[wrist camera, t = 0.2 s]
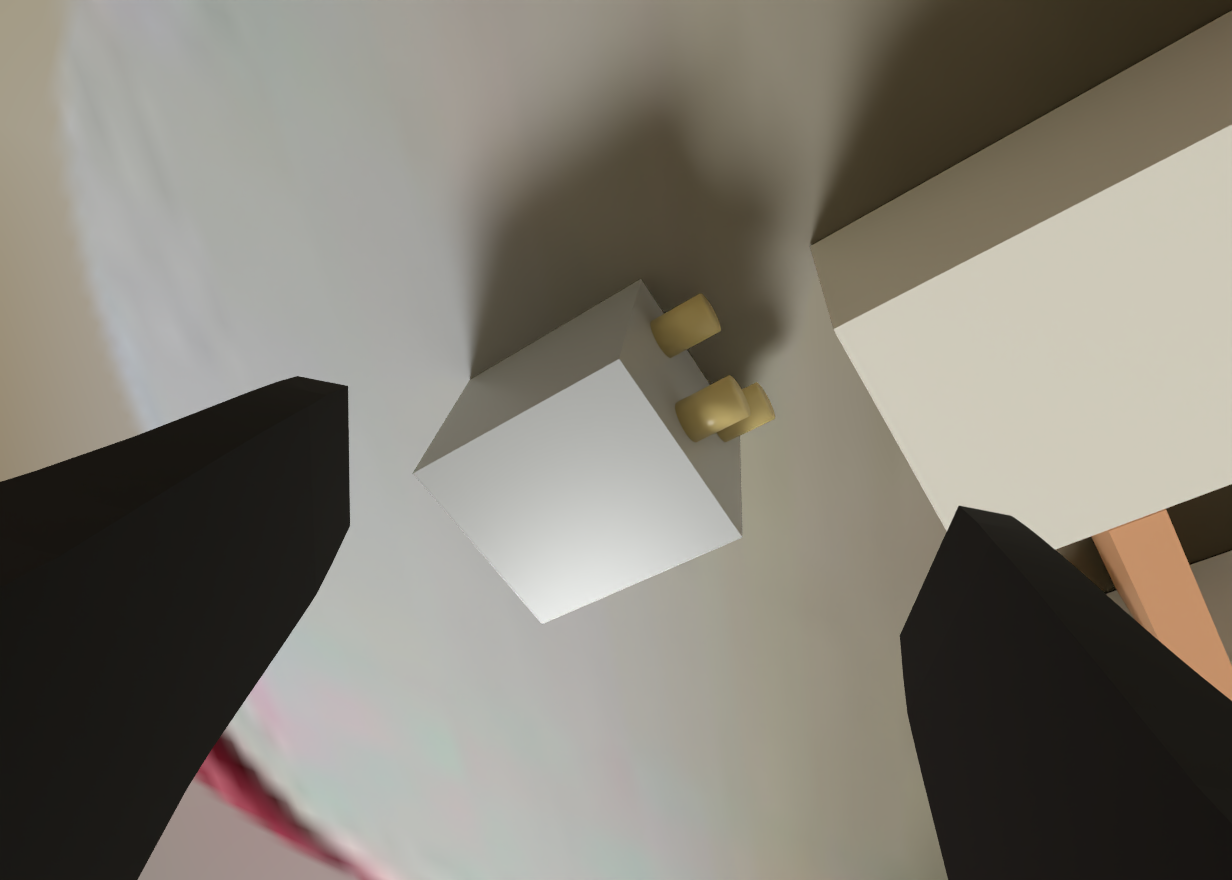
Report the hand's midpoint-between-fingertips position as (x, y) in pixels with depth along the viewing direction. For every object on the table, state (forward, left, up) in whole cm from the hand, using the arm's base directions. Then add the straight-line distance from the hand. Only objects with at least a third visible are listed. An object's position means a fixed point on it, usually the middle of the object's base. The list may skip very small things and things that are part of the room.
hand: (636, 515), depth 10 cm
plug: (-2, +3, -10) cm, 11 cm away
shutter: (-10, -6, -9) cm, 15 cm away
